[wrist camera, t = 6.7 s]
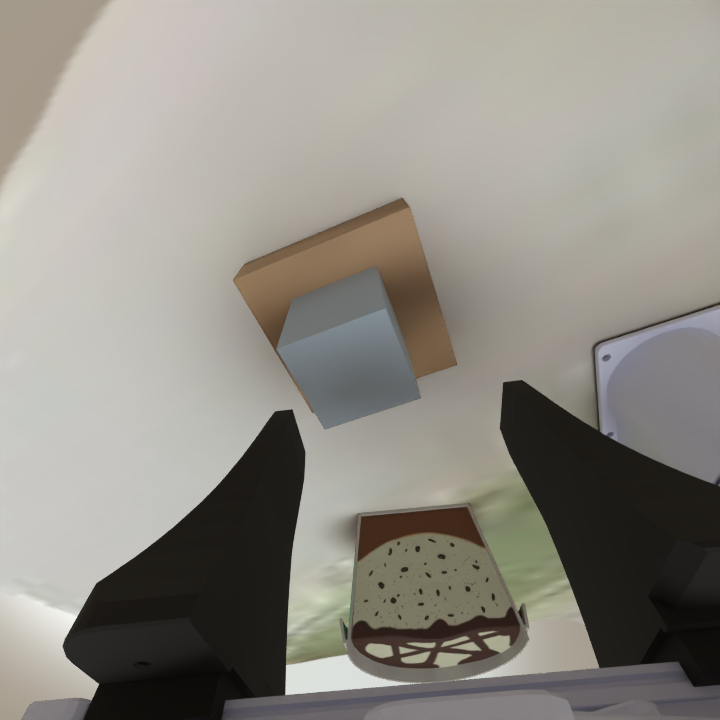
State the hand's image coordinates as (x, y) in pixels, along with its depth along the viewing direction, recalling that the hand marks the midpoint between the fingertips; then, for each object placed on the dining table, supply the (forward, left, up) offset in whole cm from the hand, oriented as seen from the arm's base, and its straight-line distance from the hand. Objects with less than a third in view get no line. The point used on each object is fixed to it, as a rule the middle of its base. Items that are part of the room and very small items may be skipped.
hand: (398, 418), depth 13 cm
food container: (-22, +4, -11) cm, 25 cm away
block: (+1, +2, -8) cm, 8 cm away
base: (0, +1, -10) cm, 10 cm away
